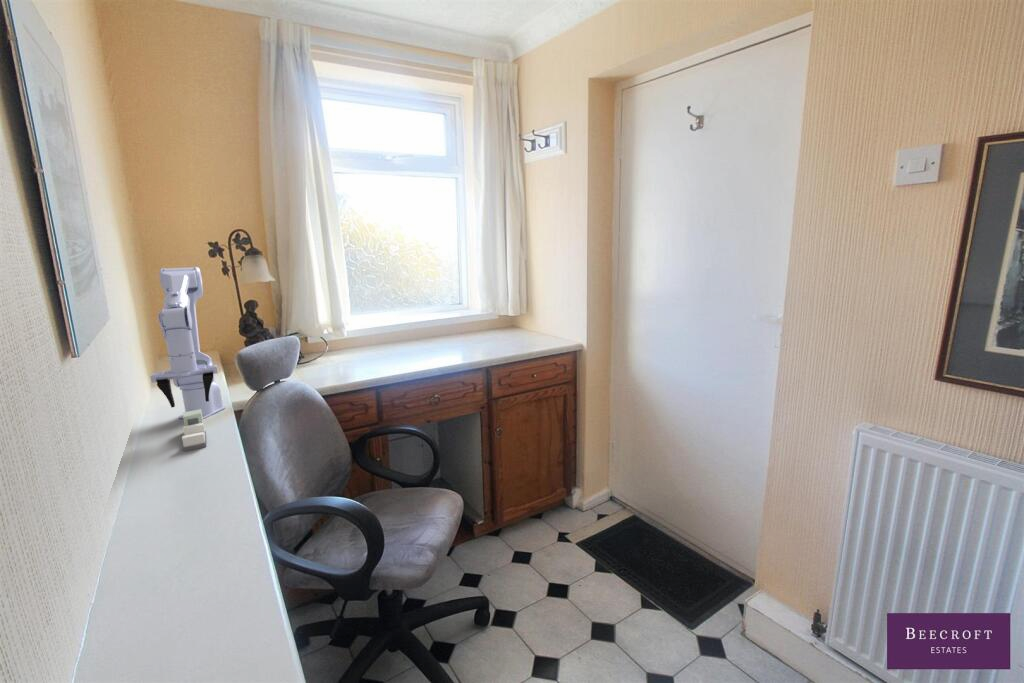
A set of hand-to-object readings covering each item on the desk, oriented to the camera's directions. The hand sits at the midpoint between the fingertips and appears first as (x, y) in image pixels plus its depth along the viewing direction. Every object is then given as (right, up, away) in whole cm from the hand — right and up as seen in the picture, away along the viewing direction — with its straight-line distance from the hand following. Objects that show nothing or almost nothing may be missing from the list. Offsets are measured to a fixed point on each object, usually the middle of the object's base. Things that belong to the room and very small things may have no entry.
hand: (190, 403), depth 128 cm
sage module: (0, -8, +2) cm, 8 cm away
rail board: (+4, -9, -5) cm, 11 cm away
